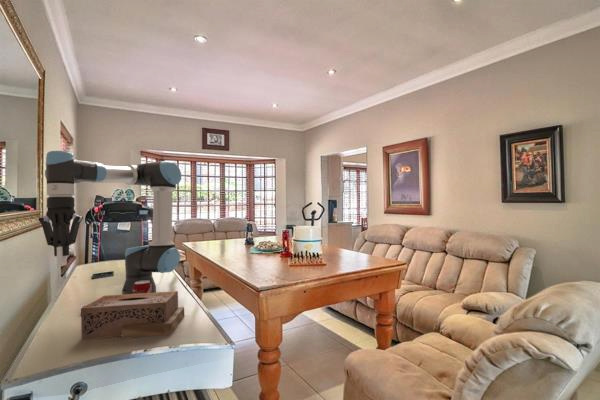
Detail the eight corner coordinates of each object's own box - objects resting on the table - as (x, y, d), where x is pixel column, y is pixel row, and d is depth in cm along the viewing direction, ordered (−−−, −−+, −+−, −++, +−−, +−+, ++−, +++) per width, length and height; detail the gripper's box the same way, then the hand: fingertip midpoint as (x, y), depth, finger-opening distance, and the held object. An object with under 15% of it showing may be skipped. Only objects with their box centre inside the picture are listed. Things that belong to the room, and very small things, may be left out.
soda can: (144, 315, 119) (143, 284, 119) (129, 314, 120) (128, 283, 120) (155, 309, 125) (155, 279, 126) (141, 309, 127) (140, 279, 127)
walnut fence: (142, 319, 114) (142, 309, 114) (184, 316, 116) (184, 306, 116) (121, 338, 97) (121, 327, 97) (171, 334, 99) (171, 323, 99)
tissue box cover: (81, 340, 98) (81, 308, 98) (104, 323, 112) (104, 295, 112) (166, 333, 101) (165, 302, 101) (178, 317, 115) (177, 290, 116)
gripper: (31, 196, 101) (32, 269, 101) (74, 195, 103) (76, 266, 102) (47, 197, 109) (48, 264, 108) (87, 196, 110) (88, 262, 110)
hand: (61, 265), depth 105 cm, fingers closed
